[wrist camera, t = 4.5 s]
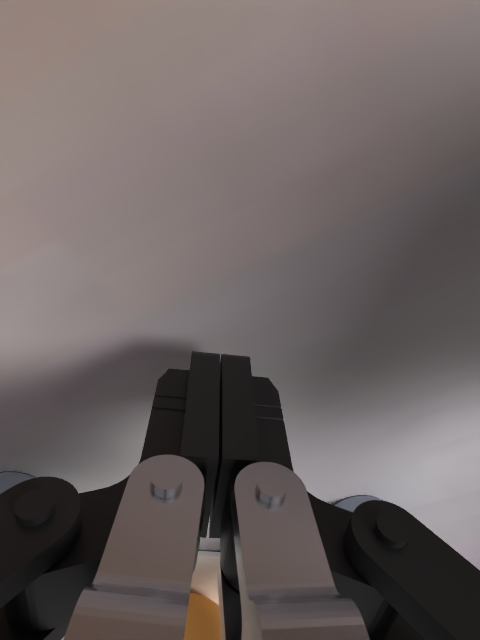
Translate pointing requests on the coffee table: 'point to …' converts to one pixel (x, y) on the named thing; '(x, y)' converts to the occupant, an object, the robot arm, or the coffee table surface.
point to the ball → (202, 619)
